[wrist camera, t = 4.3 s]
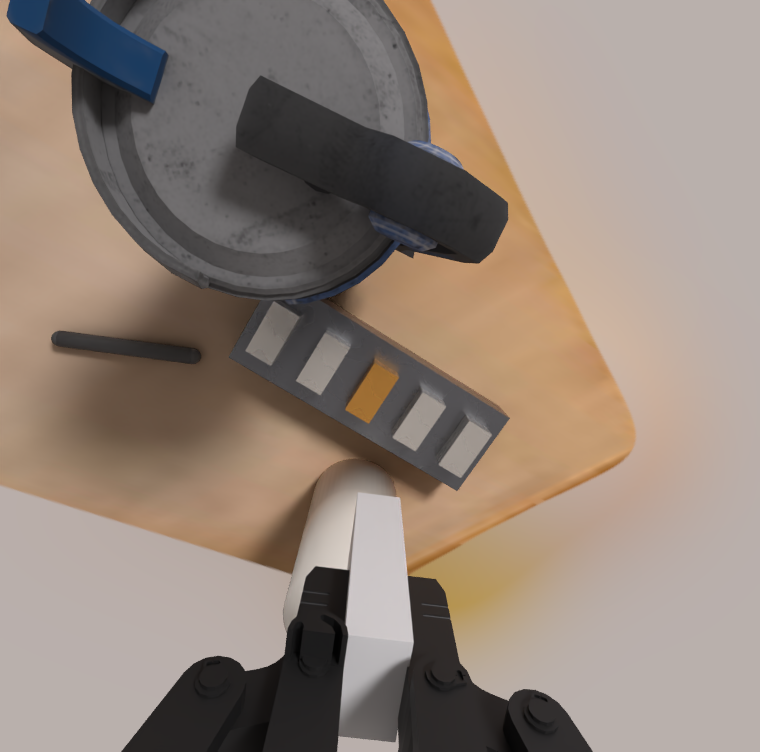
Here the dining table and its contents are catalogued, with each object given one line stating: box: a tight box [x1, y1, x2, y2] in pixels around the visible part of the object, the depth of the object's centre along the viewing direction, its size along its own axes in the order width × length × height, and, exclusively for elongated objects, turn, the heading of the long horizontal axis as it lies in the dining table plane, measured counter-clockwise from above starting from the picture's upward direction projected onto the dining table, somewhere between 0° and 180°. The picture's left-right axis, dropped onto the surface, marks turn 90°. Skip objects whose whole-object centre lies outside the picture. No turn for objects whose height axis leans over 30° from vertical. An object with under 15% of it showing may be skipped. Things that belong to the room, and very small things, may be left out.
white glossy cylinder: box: [283, 459, 397, 632], centre depth 34 cm, size 7×7×14 cm
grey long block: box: [229, 298, 510, 491], centre depth 36 cm, size 20×7×5 cm, turn 58°
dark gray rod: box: [51, 331, 201, 364], centre depth 37 cm, size 11×1×1 cm, turn 82°
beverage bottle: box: [7, 0, 508, 305], centre depth 23 cm, size 10×13×25 cm
